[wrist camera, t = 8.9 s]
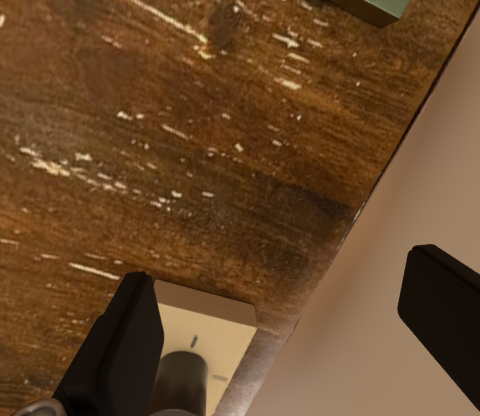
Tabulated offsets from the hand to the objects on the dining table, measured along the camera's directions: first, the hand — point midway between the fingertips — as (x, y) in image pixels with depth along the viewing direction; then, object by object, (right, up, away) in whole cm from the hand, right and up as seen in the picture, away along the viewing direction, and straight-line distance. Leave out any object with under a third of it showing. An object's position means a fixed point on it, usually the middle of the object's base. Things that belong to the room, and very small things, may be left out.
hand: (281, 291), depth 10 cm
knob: (-7, -12, +15) cm, 21 cm away
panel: (-7, -11, +18) cm, 23 cm away
